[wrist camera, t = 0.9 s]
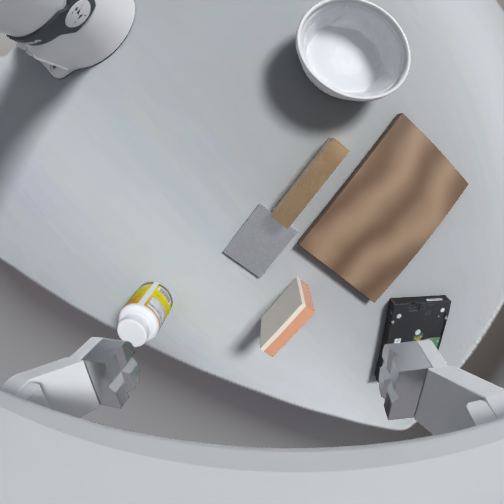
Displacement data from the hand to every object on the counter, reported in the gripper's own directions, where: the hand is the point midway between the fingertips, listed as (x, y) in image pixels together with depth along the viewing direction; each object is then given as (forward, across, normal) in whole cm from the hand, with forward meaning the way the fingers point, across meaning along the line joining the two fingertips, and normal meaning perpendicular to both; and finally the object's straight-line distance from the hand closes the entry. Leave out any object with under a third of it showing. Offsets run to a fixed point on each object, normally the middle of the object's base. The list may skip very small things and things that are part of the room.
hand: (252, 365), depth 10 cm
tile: (+34, +1, +13) cm, 36 cm away
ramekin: (+33, -9, -20) cm, 40 cm away
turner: (+33, 0, -1) cm, 33 cm away
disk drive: (+37, -19, +21) cm, 47 cm away
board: (+35, -14, 0) cm, 37 cm away
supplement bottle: (+33, +19, +12) cm, 40 cm away
